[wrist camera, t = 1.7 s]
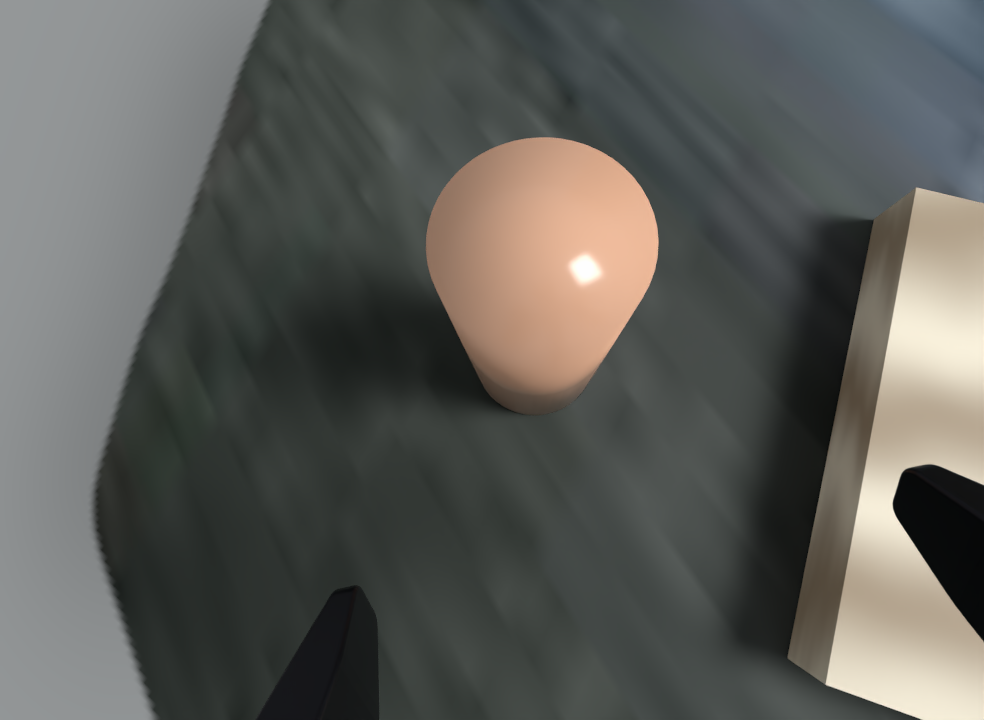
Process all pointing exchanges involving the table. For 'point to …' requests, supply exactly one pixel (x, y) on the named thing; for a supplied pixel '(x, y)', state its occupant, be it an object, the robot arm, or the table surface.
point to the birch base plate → (900, 468)
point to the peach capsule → (540, 265)
